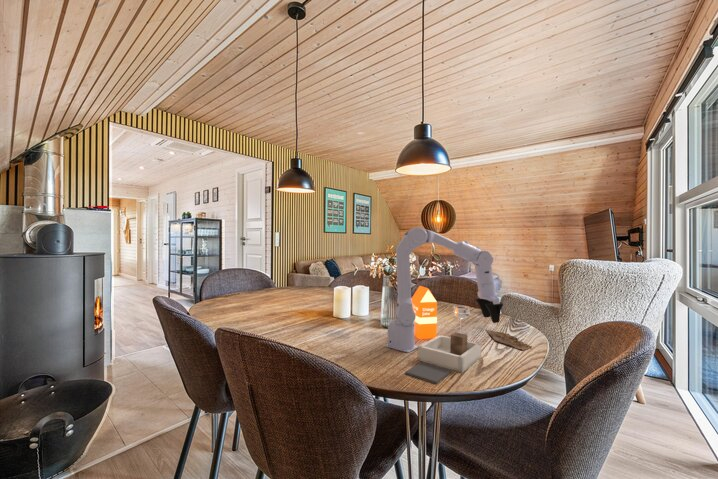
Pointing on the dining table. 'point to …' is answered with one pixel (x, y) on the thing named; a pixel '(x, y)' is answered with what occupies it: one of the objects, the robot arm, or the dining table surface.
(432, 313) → the orange juice
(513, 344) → the wooden fragment
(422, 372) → the place mat
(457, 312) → the wineglass
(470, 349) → the box
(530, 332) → the dining table surface
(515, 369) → the dining table surface
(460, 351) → the walnut block
